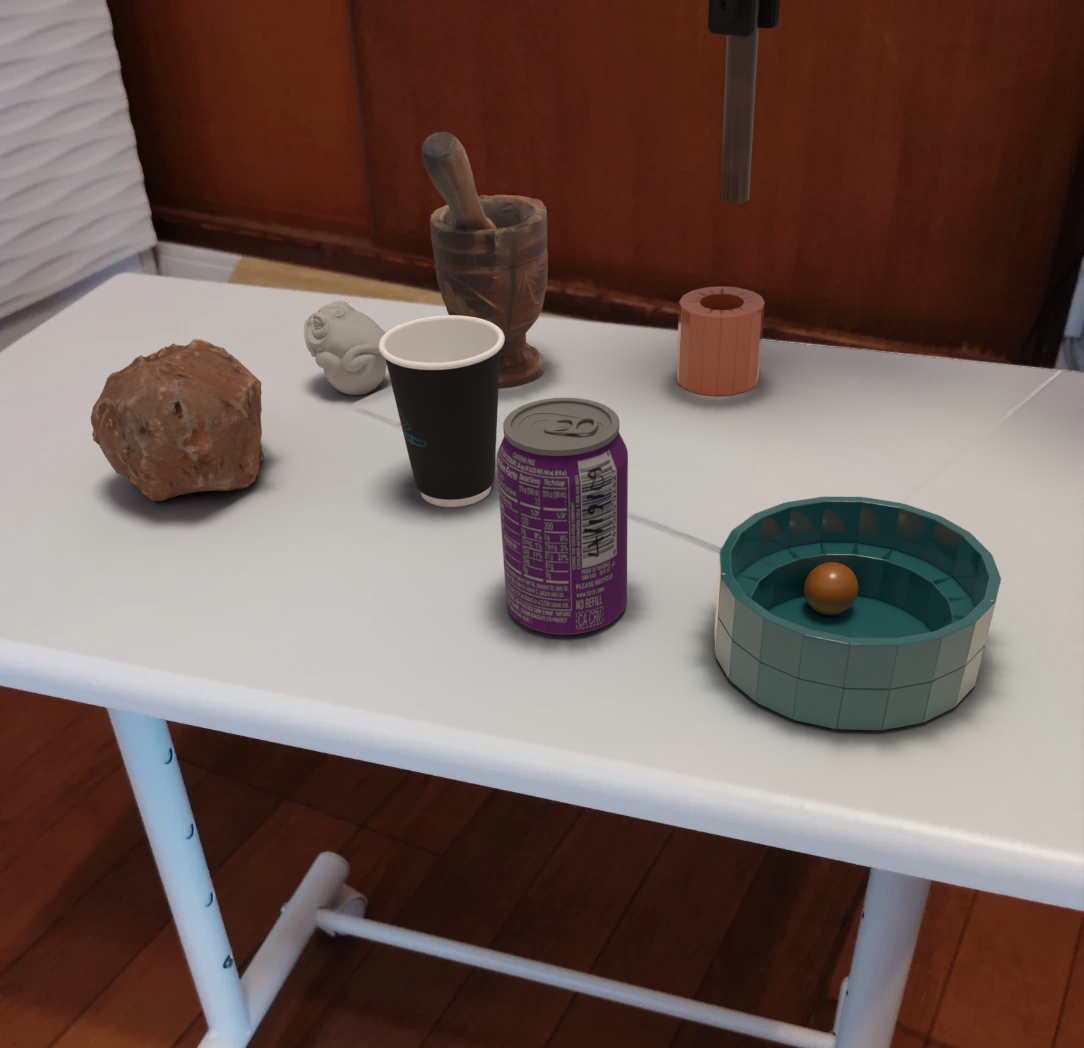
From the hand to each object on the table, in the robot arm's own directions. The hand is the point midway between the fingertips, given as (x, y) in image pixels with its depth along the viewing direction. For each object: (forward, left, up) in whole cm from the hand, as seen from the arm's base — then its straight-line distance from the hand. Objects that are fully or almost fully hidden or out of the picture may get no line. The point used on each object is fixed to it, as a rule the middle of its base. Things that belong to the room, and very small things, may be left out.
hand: (743, 27), depth 76 cm
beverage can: (+30, +10, -25) cm, 40 cm away
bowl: (+24, +25, -25) cm, 42 cm away
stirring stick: (0, 0, -11) cm, 11 cm away
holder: (0, 0, -25) cm, 25 cm away
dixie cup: (+24, -5, -25) cm, 35 cm away
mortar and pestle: (+10, -14, -25) cm, 31 cm away
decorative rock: (+34, -21, -25) cm, 47 cm away
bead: (+21, +22, -23) cm, 38 cm away
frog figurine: (+17, -23, -25) cm, 38 cm away
